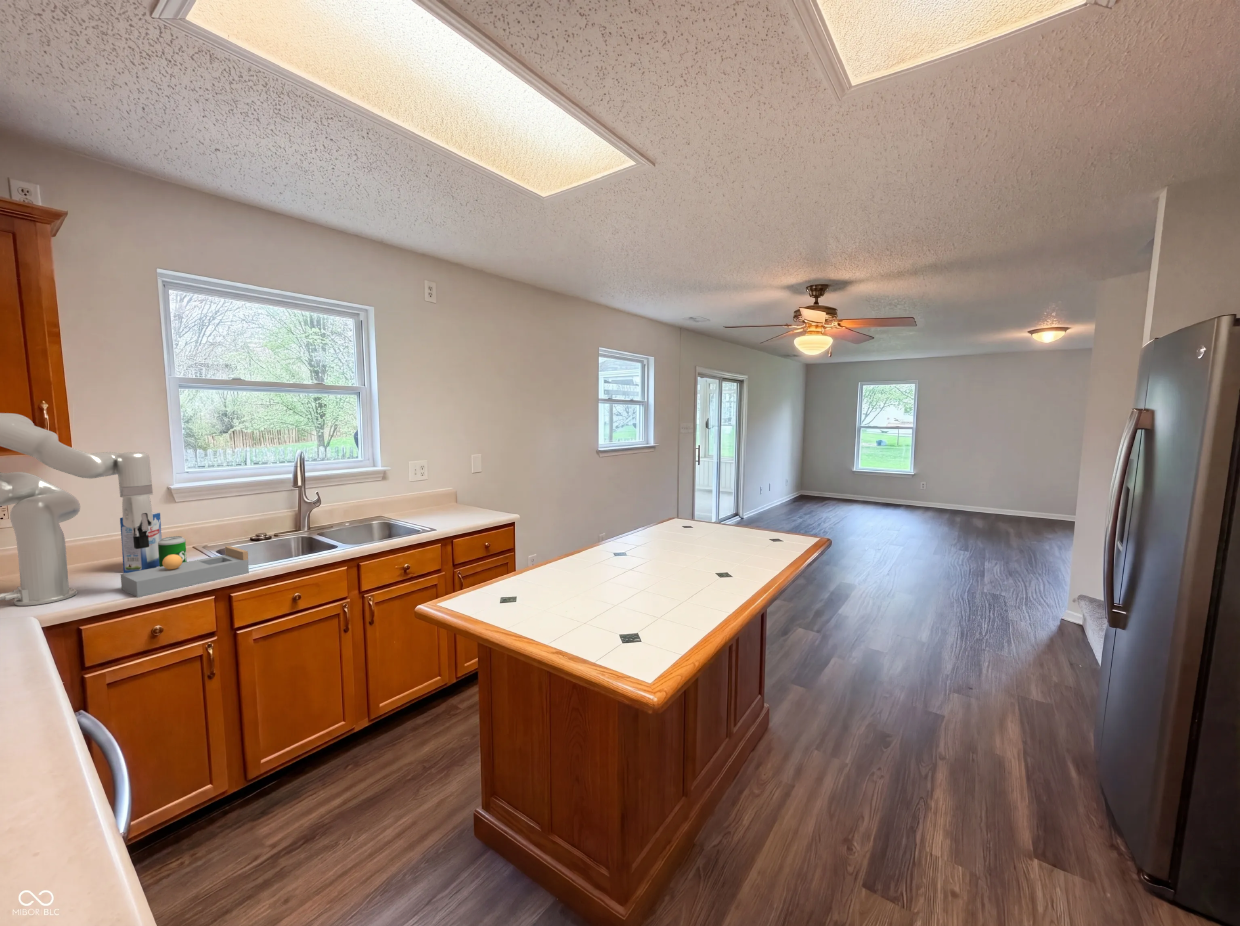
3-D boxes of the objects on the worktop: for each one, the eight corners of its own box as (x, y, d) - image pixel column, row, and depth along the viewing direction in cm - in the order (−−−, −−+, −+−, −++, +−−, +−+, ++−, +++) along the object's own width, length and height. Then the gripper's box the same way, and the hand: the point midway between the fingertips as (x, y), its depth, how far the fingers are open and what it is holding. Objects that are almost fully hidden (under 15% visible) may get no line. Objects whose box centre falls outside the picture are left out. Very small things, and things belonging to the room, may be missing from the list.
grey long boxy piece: (137, 597, 154) (136, 572, 154) (121, 589, 161) (120, 565, 161) (248, 572, 180) (247, 551, 179) (230, 566, 187) (229, 545, 186)
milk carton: (144, 565, 188) (141, 512, 186) (163, 564, 189) (160, 512, 187) (123, 573, 178) (119, 517, 176) (143, 572, 179) (140, 517, 177)
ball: (166, 572, 163) (165, 557, 163) (160, 569, 166) (159, 555, 166) (185, 568, 168) (184, 554, 167) (179, 566, 170) (178, 551, 170)
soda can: (174, 573, 178) (172, 540, 177) (153, 573, 178) (151, 540, 177) (192, 567, 186) (190, 535, 185) (172, 567, 186) (171, 535, 185)
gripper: (111, 491, 158) (117, 547, 160) (128, 494, 151) (134, 553, 152) (143, 488, 165) (148, 542, 167) (161, 491, 157) (166, 548, 159)
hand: (141, 547), depth 159 cm, fingers closed
